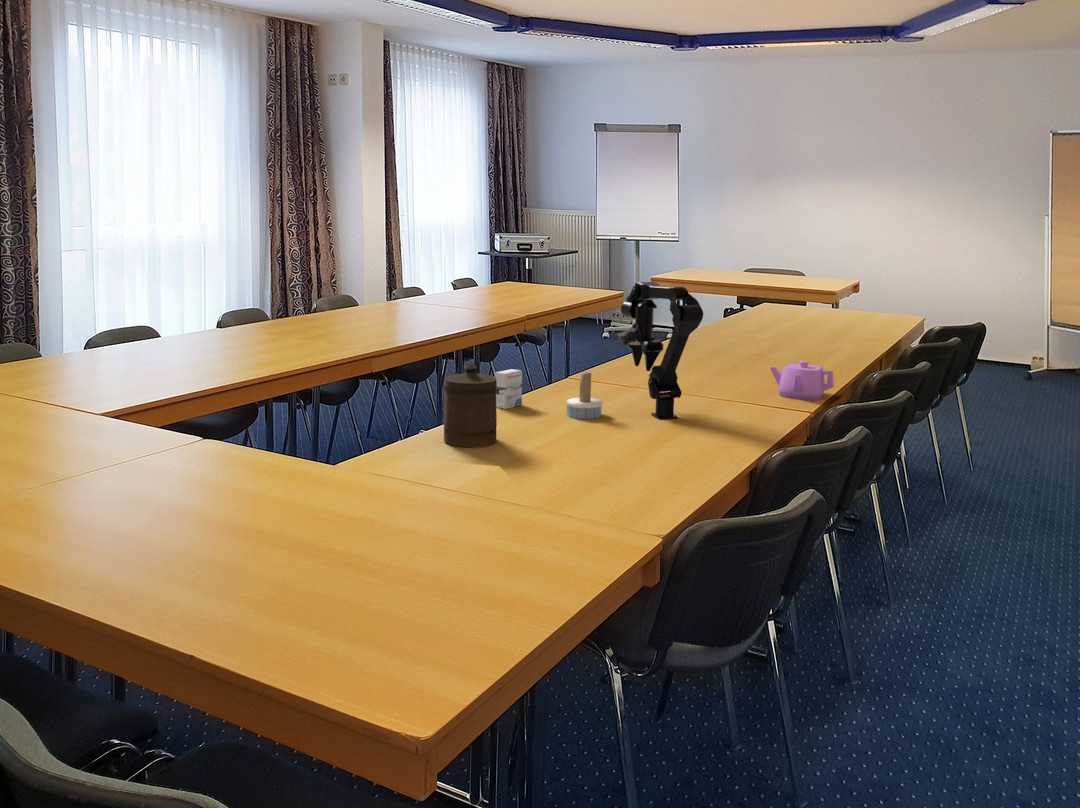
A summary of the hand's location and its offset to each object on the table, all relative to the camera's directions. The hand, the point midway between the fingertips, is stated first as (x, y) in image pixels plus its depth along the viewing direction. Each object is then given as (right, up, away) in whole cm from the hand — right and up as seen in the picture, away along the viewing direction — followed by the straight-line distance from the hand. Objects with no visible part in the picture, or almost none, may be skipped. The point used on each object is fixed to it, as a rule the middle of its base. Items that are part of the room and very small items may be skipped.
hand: (642, 368), depth 312 cm
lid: (-19, -12, -10) cm, 25 cm away
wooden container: (-53, -22, -42) cm, 71 cm away
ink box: (-44, -12, +2) cm, 46 cm away
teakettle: (+58, -9, +25) cm, 64 cm away
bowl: (-19, -15, -9) cm, 26 cm away
